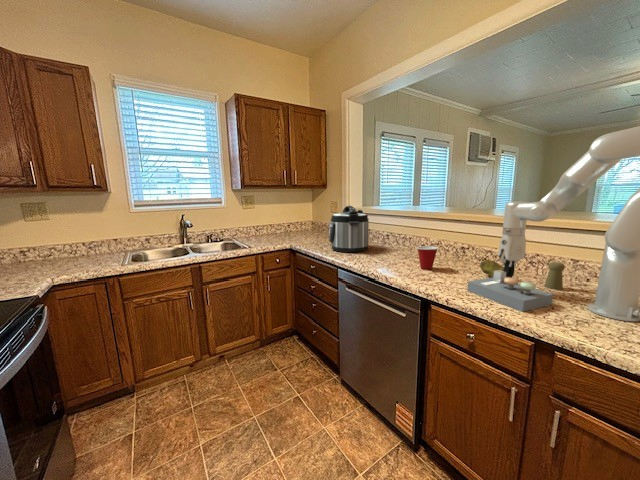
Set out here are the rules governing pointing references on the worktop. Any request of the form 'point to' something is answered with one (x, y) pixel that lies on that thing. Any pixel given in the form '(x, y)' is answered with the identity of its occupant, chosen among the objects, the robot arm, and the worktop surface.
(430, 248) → the plastic cup
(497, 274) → the slider knob
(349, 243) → the pressure cooker
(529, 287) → the sage button
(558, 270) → the cork
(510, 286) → the peach knob
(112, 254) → the worktop surface
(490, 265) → the potato
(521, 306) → the panel
